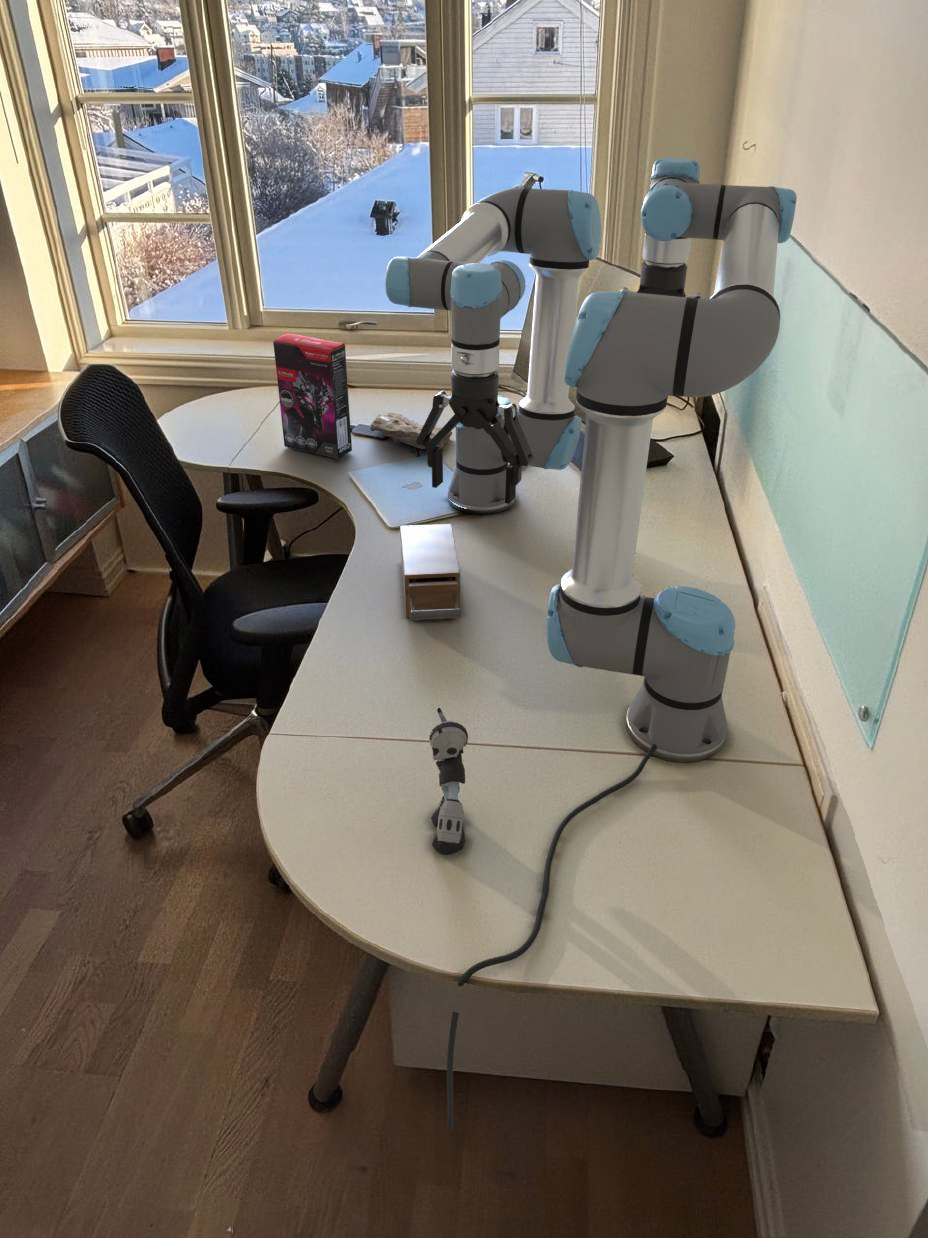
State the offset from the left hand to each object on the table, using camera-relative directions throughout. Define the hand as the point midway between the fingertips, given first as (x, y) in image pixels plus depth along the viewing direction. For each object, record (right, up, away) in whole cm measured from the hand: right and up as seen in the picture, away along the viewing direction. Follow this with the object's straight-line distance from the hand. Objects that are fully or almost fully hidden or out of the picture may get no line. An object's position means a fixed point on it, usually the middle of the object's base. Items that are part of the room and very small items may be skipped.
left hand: (473, 492), depth 157 cm
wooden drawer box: (-8, -16, +20) cm, 27 cm away
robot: (-4, -50, -31) cm, 60 cm away
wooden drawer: (-8, -18, +15) cm, 25 cm away
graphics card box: (-38, +21, +75) cm, 86 cm away
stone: (-16, +24, +79) cm, 84 cm away
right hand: (+32, +20, +8) cm, 38 cm away
